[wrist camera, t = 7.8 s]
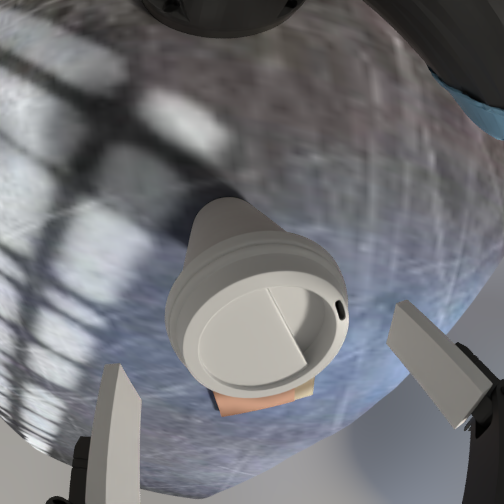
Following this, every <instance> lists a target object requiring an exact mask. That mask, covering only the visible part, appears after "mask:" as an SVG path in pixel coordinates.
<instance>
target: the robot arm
mask: <svg viewBox="0 0 504 504" xmlns="http://www.w3.org/2000/svg"><path fill="white" fill-rule="evenodd" d="M142 1H143V3H144V5H145V7H146V8H147V10H148V11H149V12H150V13H151V14H152V15H153V16H154V17H155V18H156V19H158V20H159V21H161V22H162V23H164V24H165V25H167V26H169V27H171V28H173V29H175V30H178V31H181V32H184V33H187V34H191V35H195V36H201V37H208V38H238V37H245V36H250V35H255V34H258V33H262V32H264V31H267V30H270V29H272V28H274V27H276V26H278V25H279V24H281V23H283V22H284V21H285V20H287V19H288V18H289V17H290V16H291V15H292V14H293V13H294V12H295V11H296V10H298V9H299V8H300V7H301V5H302V4H303V3H304V2H305V0H142ZM363 1H364V2H365V3H366V4H367V5H369V6H370V7H371V8H372V9H373V10H374V11H376V12H377V13H378V14H379V15H380V16H381V17H382V18H383V19H384V20H386V21H387V22H388V23H389V24H390V25H391V26H392V27H393V28H394V29H395V30H396V31H397V32H398V33H399V34H400V35H401V36H402V37H403V38H404V39H405V40H406V41H407V42H408V43H409V45H410V46H411V47H412V48H413V49H414V50H415V51H416V52H417V53H418V54H419V56H420V57H421V58H422V59H423V60H424V61H425V63H426V64H427V66H428V69H429V70H430V71H431V73H432V76H433V77H434V78H435V80H436V81H437V82H438V83H439V84H440V85H441V86H442V87H444V88H445V89H446V90H448V91H449V93H450V94H451V95H452V96H453V98H454V99H455V100H456V102H457V103H458V104H459V106H460V107H461V108H462V110H463V111H464V112H465V114H466V115H467V116H468V117H469V118H470V119H471V120H472V121H473V122H474V123H475V124H476V125H477V126H478V127H479V128H481V129H482V130H483V131H485V132H486V133H488V134H489V135H491V136H492V137H494V138H496V139H498V140H504V0H363ZM386 344H387V345H388V346H389V347H390V349H391V350H392V351H393V352H394V353H395V355H396V356H397V357H398V358H399V360H400V361H401V362H402V363H403V364H404V366H405V367H406V368H407V369H408V371H409V372H410V373H411V374H412V375H413V377H414V378H415V379H416V380H417V382H418V383H419V384H420V385H421V387H422V388H423V389H424V391H425V392H426V393H427V394H428V396H429V397H430V398H431V399H432V401H433V402H434V403H435V405H436V406H437V407H438V408H439V410H440V411H441V412H442V414H443V415H444V416H445V418H446V419H447V420H448V422H449V423H450V424H451V426H452V427H453V428H454V429H456V428H457V427H458V426H460V425H461V424H462V423H464V422H465V421H466V420H467V418H468V417H469V416H470V415H471V414H472V416H473V417H472V418H471V420H470V421H469V422H468V423H467V424H466V426H465V428H464V431H466V430H467V429H468V428H469V426H470V425H471V427H470V428H469V430H468V431H471V438H470V439H471V440H470V452H469V463H468V471H467V478H466V485H465V491H464V496H463V501H462V504H504V379H502V380H499V379H498V378H497V377H496V376H495V375H494V374H493V373H492V372H491V371H490V370H489V369H488V368H487V367H486V366H485V365H484V364H483V363H482V362H481V361H480V360H479V359H478V358H477V357H476V356H475V355H473V353H472V352H471V351H470V350H469V349H468V348H467V347H466V346H464V345H462V344H460V343H459V342H457V343H456V344H454V343H453V342H452V341H451V340H450V339H449V338H448V337H447V336H446V335H445V334H444V333H443V332H442V331H441V330H440V329H439V328H437V327H436V326H435V325H434V324H433V323H432V322H431V321H430V320H429V319H428V318H427V317H426V316H425V315H424V314H423V313H421V312H420V311H419V310H418V309H417V308H416V307H415V306H414V305H413V304H412V303H411V302H409V301H408V300H405V301H402V302H399V303H396V307H395V311H394V315H393V319H392V323H391V327H390V331H389V335H388V339H387V342H386ZM141 401H142V400H141V398H140V397H139V395H138V394H137V392H136V390H135V389H134V387H133V385H132V384H131V382H130V380H129V379H128V377H127V375H126V373H125V372H124V370H123V368H122V366H121V364H120V363H119V364H107V365H105V367H104V371H103V375H102V380H101V384H100V389H99V394H98V399H97V404H96V410H95V416H94V422H93V428H92V435H91V437H84V436H80V438H79V440H78V442H77V443H76V445H75V449H74V455H73V458H74V460H73V463H72V467H73V468H72V471H71V480H70V492H69V500H66V499H64V498H63V497H59V496H54V497H51V498H50V499H49V500H48V501H47V502H46V504H141V502H140V467H139V455H140V419H141Z"/></svg>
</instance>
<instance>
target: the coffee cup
mask: <svg viewBox="0 0 504 504" xmlns="http://www.w3.org/2000/svg"><path fill="white" fill-rule="evenodd" d="M348 324H349V314H348V296H347V289H346V285H345V281H344V279H343V276H342V273H341V271H340V269H339V267H338V265H337V263H336V262H335V260H334V259H333V257H332V256H331V255H330V254H329V253H328V252H327V251H326V250H325V249H324V248H323V247H321V246H320V245H318V244H317V243H315V242H314V241H312V240H310V239H308V238H305V237H303V236H300V235H297V234H293V233H289V232H286V231H285V230H284V229H282V228H281V227H280V226H278V225H277V224H276V223H274V222H273V221H272V220H270V219H269V218H268V217H266V216H265V215H264V214H263V213H261V212H260V211H259V210H257V209H256V208H255V207H253V206H252V205H251V204H249V203H248V202H246V201H244V200H242V199H239V198H234V197H224V198H219V199H216V200H213V201H211V202H209V203H208V204H206V205H205V206H204V207H203V208H202V209H201V210H200V211H199V212H198V214H197V215H196V217H195V219H194V222H193V226H192V230H191V234H190V239H189V243H188V248H187V253H186V257H185V262H184V267H183V271H182V272H181V273H180V275H179V276H178V278H177V279H176V281H175V282H174V284H173V286H172V288H171V290H170V293H169V296H168V299H167V303H166V308H165V325H166V330H167V334H168V337H169V339H170V342H171V345H172V347H173V349H174V351H175V353H176V354H177V356H178V357H179V359H180V360H181V362H182V363H183V364H184V365H185V366H186V367H187V368H188V370H189V371H190V373H191V374H192V375H193V377H194V378H195V379H196V380H197V381H198V382H200V383H201V384H202V385H204V386H205V387H207V388H208V389H210V390H212V391H215V392H217V393H220V394H223V395H227V396H231V397H238V398H260V397H267V396H272V395H276V394H280V393H283V392H286V391H289V390H291V389H293V388H296V387H298V386H300V385H302V384H303V383H305V382H307V381H308V380H310V379H312V378H313V377H314V376H316V375H317V374H318V373H320V372H321V371H322V370H323V369H324V368H325V367H326V366H327V365H328V364H329V363H330V362H331V361H332V360H333V358H334V357H335V356H336V354H337V353H338V351H339V350H340V348H341V346H342V344H343V342H344V340H345V337H346V334H347V330H348Z"/></svg>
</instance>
